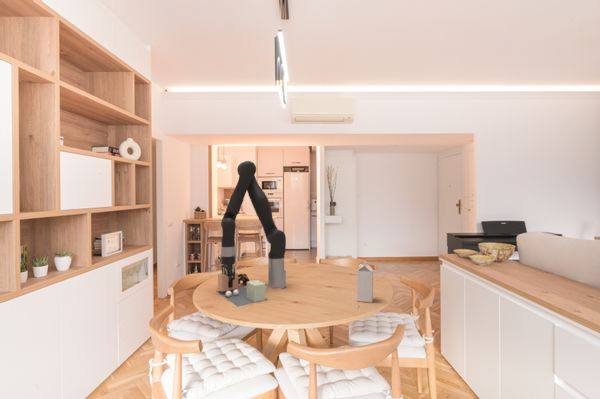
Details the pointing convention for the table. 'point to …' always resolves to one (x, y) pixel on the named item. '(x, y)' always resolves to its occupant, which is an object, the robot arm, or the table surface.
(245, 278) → the brown sculpted ring
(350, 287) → the table surface
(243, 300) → the slate mat
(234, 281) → the upright salmon pillar
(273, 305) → the table surface
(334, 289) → the table surface
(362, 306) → the table surface
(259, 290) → the pale green cuboid
